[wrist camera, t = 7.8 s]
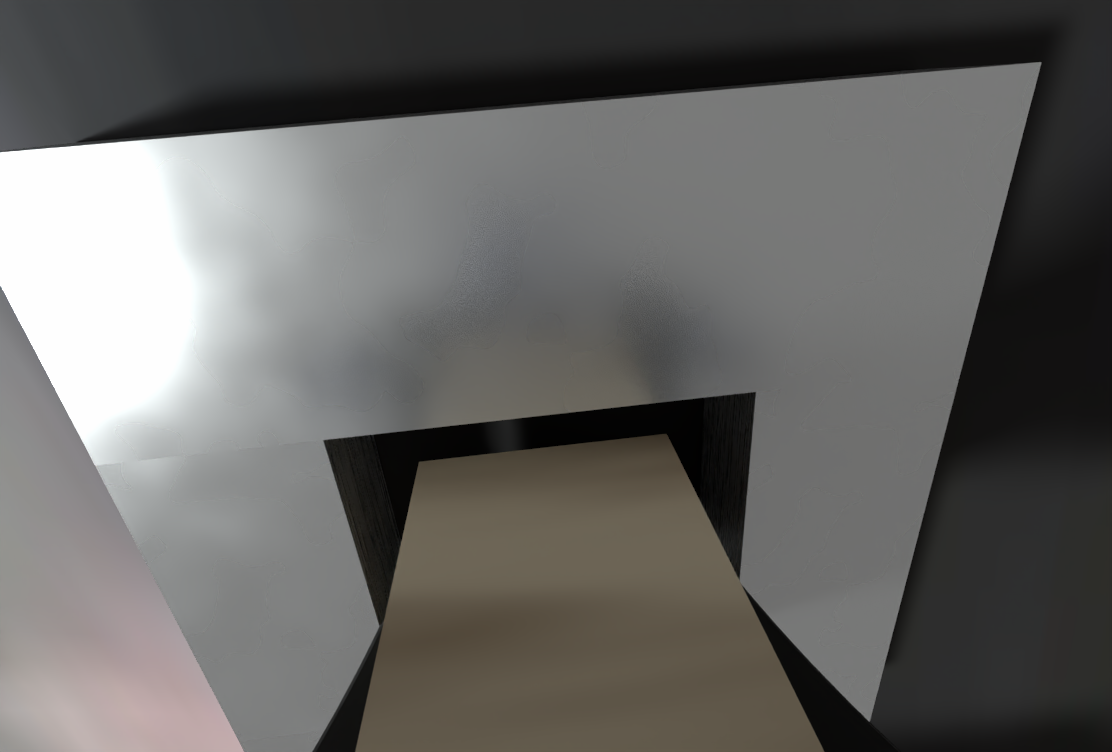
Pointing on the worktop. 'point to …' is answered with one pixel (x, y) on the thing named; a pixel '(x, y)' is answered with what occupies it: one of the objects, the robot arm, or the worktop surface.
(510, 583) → the birch block
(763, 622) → the robot arm
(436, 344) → the socket plate
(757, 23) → the worktop surface
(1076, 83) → the worktop surface
